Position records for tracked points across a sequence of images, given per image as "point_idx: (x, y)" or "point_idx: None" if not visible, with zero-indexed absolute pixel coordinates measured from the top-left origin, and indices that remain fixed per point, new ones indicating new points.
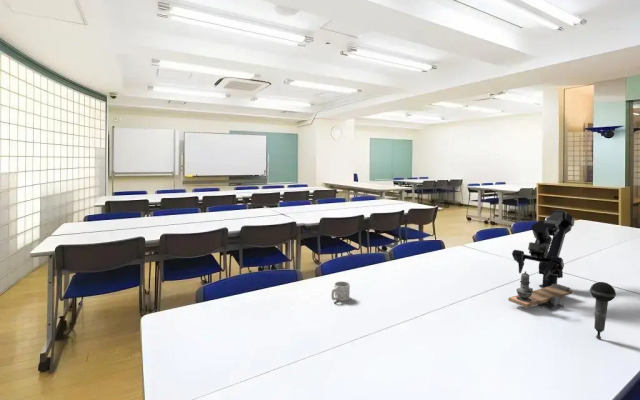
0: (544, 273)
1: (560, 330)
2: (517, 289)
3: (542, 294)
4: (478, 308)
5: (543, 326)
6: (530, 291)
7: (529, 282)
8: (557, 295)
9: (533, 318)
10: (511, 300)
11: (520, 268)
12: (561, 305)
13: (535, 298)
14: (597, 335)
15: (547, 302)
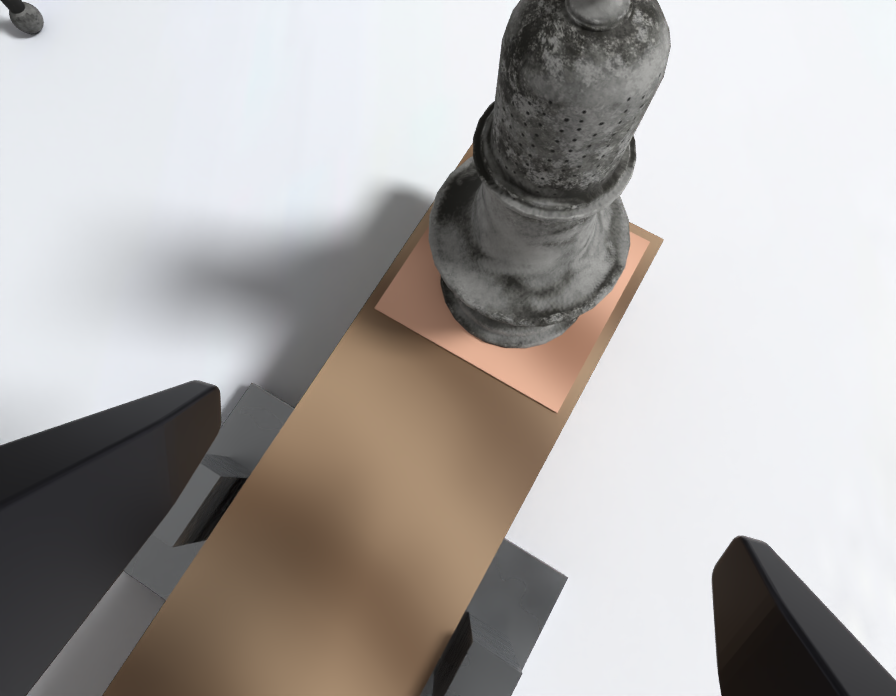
0: (140, 429)
1: (251, 30)
2: (615, 221)
3: (313, 588)
4: (828, 99)
5: (354, 34)
6: (455, 207)
7: (483, 134)
8: (129, 663)
9: (418, 132)
10: None
11: (803, 625)
12: (148, 547)
13: (398, 379)
14: (25, 4)
15: None
